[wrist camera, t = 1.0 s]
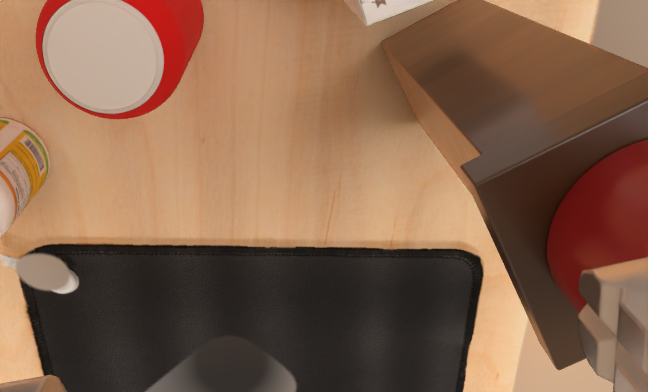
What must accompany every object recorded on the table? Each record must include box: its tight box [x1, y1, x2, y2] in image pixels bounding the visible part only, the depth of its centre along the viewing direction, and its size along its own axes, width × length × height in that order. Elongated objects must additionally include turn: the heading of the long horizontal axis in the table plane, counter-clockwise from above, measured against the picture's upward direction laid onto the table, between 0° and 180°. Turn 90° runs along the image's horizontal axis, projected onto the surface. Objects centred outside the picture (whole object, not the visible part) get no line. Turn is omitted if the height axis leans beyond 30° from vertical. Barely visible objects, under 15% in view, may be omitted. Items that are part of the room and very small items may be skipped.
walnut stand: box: [381, 0, 648, 370], centre depth 28 cm, size 8×8×22 cm
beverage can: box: [36, 0, 204, 119], centre depth 29 cm, size 6×6×12 cm
